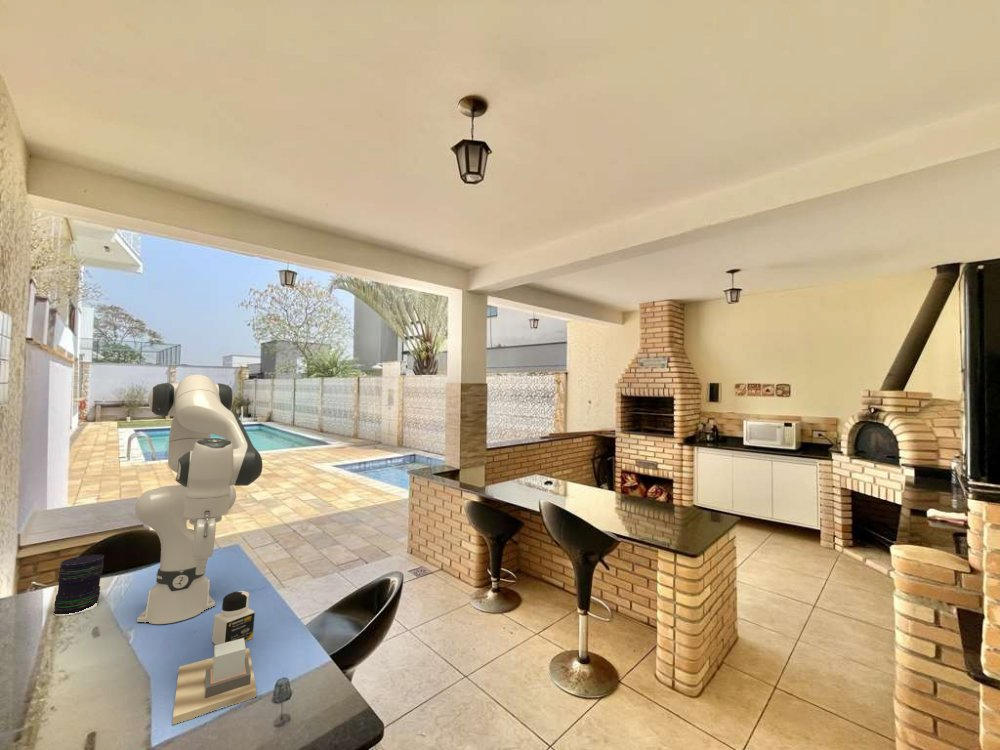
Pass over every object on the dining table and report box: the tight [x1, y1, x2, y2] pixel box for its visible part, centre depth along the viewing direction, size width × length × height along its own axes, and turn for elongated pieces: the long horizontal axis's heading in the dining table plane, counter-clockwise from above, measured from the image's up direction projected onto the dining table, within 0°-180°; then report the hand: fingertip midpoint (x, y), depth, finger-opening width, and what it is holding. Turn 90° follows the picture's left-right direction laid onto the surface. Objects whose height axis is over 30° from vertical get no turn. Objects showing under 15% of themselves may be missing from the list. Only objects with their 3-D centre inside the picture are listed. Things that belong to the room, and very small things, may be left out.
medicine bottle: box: [211, 590, 256, 645], centre depth 109 cm, size 7×7×12 cm
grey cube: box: [212, 638, 246, 682], centre depth 89 cm, size 6×6×5 cm
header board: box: [171, 647, 258, 726], centre depth 90 cm, size 20×14×7 cm
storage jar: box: [53, 553, 105, 614], centre depth 126 cm, size 10×10×15 cm
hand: (200, 566), depth 94 cm, fingers open, 8 cm apart
